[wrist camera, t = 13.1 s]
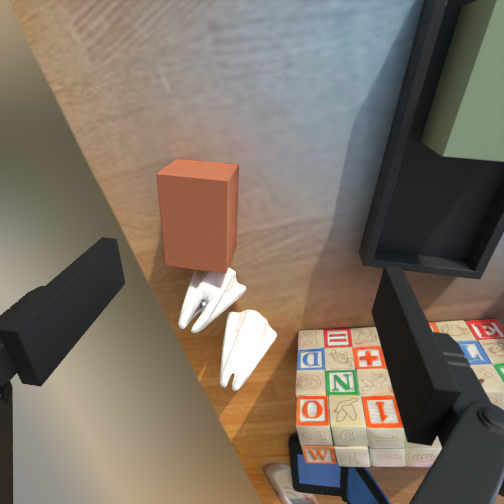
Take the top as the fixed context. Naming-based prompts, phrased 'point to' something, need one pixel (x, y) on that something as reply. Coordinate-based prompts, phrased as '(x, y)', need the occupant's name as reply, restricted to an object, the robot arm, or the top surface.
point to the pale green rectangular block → (471, 88)
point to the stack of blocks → (375, 393)
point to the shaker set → (228, 323)
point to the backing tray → (432, 176)
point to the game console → (333, 479)
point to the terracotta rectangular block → (198, 214)
